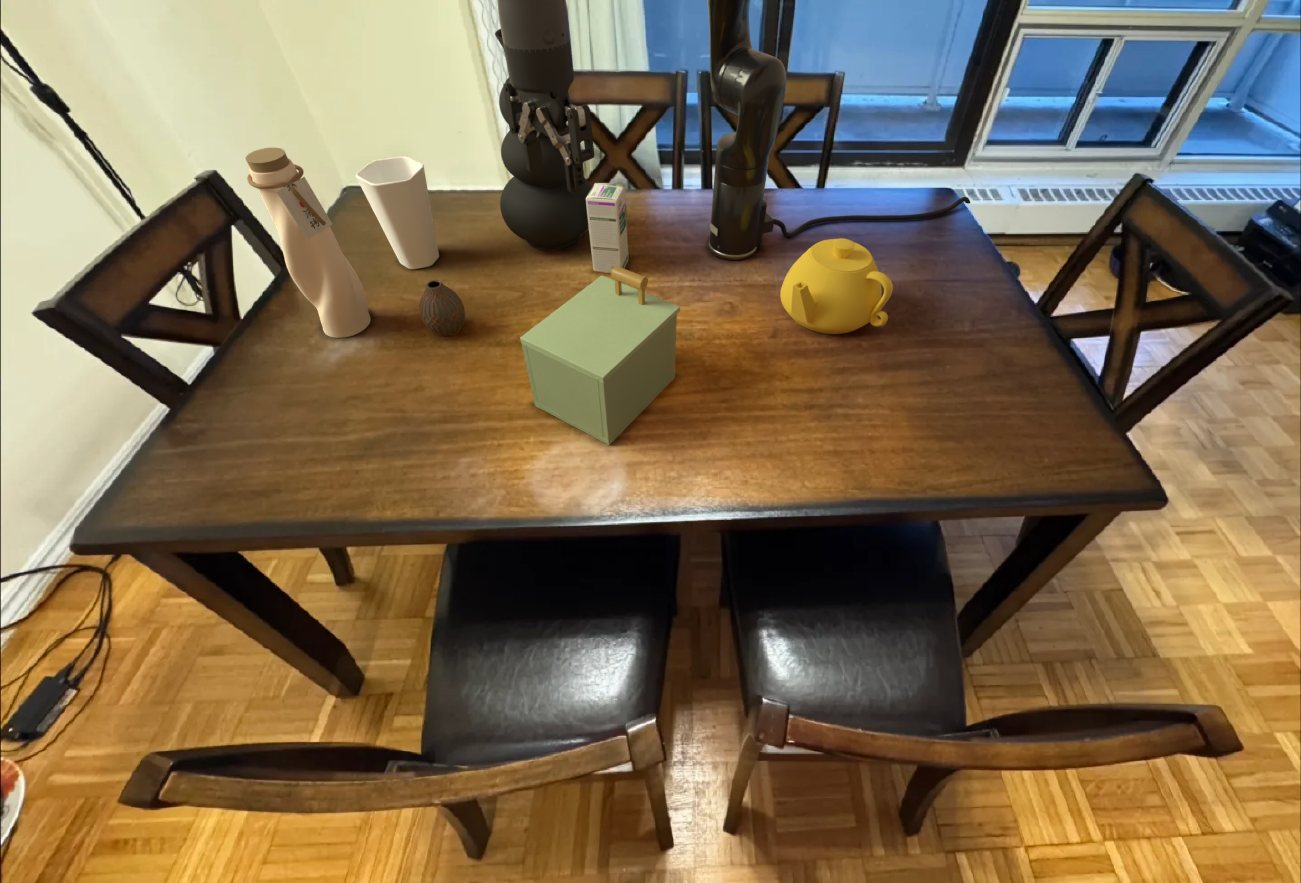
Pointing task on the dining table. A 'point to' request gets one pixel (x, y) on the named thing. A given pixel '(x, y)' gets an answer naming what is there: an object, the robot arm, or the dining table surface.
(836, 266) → the teapot
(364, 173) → the cup
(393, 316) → the dining table surface
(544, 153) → the vase
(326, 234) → the water bottle
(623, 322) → the lid
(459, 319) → the vase
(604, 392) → the chest
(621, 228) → the syrup box
